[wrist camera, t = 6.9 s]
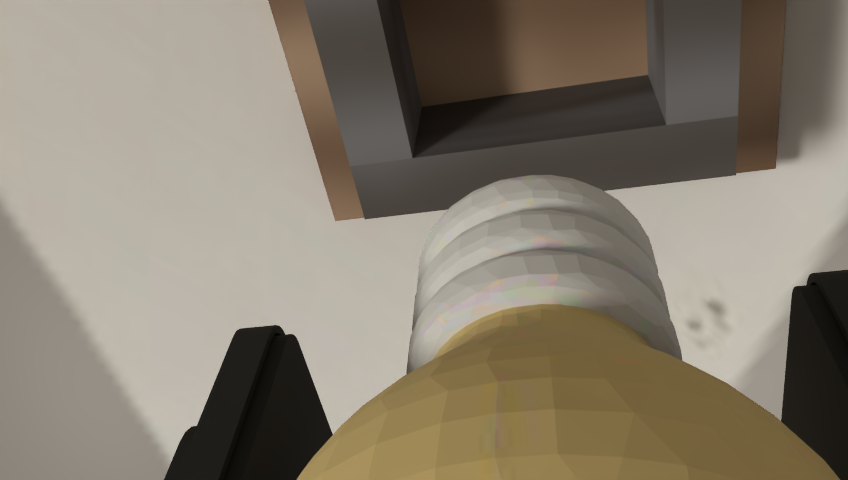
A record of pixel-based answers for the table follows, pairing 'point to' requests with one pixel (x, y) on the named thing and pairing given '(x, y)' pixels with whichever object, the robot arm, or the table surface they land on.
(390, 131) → the lamp socket
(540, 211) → the light bulb
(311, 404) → the robot arm
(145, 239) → the table surface
